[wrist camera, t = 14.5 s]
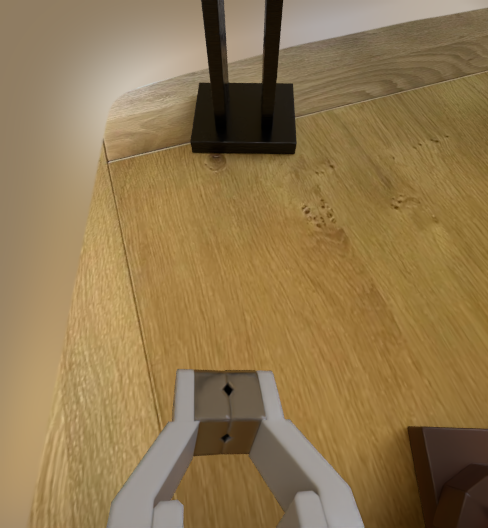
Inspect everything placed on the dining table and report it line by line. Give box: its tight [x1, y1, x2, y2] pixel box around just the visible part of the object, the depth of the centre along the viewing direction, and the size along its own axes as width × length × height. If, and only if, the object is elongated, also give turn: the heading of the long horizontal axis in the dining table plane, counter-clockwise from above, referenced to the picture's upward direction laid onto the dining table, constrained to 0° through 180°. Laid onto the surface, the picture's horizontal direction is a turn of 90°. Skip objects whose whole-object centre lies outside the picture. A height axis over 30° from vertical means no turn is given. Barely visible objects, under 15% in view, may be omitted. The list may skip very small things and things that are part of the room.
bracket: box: [190, 0, 296, 154], centre depth 22 cm, size 8×9×16 cm
